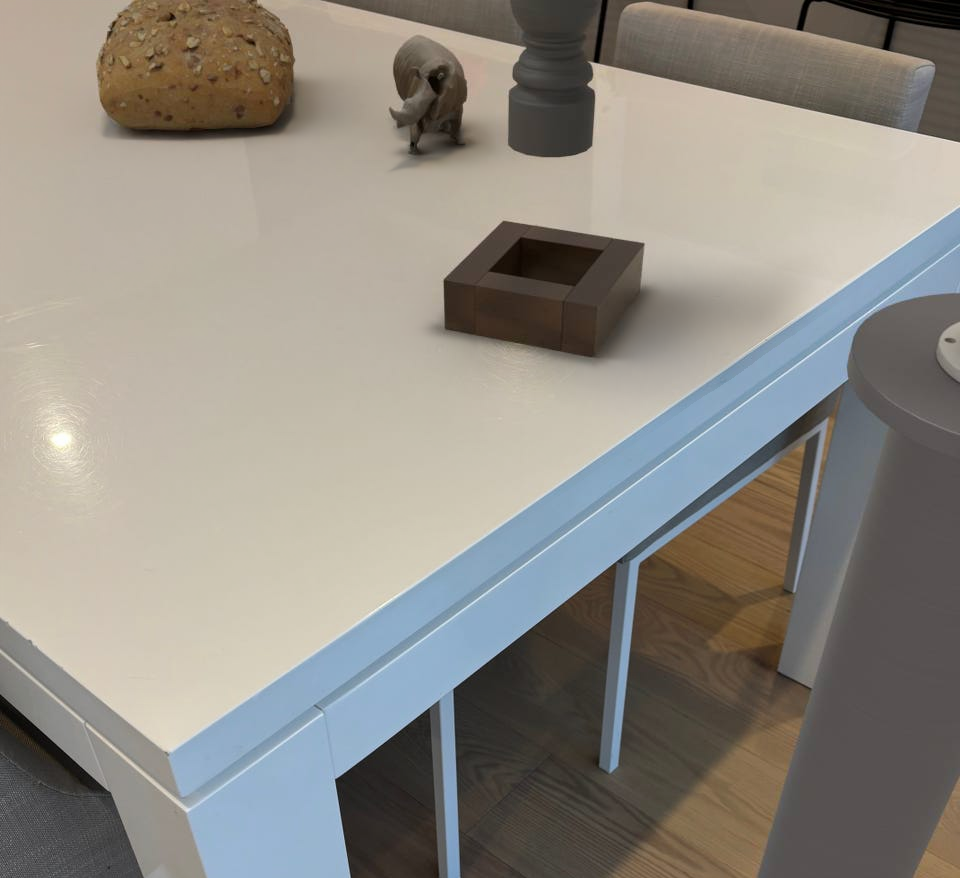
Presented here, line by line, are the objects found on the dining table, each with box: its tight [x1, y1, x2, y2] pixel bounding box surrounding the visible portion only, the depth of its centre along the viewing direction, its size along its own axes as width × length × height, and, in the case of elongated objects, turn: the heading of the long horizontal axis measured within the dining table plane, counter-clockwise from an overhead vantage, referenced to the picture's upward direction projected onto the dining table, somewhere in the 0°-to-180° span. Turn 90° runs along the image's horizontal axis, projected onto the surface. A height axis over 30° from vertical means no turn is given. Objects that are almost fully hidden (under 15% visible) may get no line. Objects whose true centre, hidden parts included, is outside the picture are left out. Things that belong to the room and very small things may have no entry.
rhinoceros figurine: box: [388, 34, 468, 156], centre depth 113 cm, size 8×14×15 cm
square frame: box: [442, 220, 645, 358], centre depth 85 cm, size 12×12×4 cm
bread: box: [95, 0, 296, 132], centre depth 121 cm, size 24×21×12 cm
